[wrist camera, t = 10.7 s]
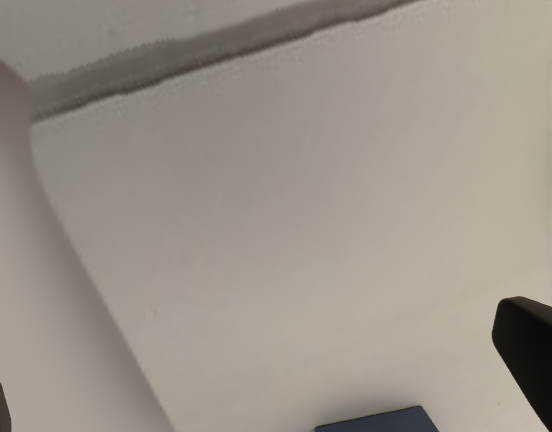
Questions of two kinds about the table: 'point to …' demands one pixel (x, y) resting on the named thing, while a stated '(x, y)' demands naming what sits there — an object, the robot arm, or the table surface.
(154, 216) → the table surface
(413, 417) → the blue box
